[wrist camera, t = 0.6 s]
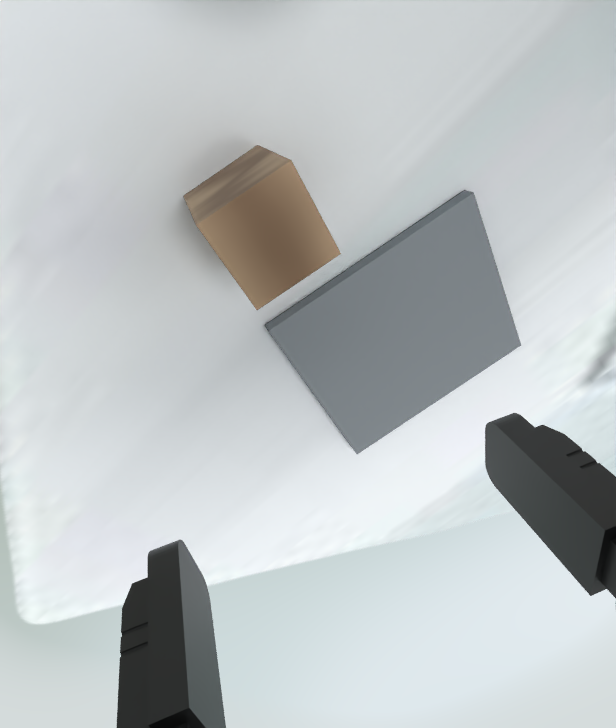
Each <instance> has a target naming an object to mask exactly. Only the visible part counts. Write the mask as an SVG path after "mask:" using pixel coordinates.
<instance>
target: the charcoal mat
mask: <svg viewBox="0 0 616 728" xmlns="http://www.w3.org/2000/svg"><path fill="white" fill-rule="evenodd" d="M265 326H266V328H267V330H268V331H269V333H270V334H271V336H272V337H273V338H274V340H275V341H276V343H277V344H278V345H279V347H280V348H281V350H282V351H283V352H284V354H285V355H286V356H287V358H288V359H289V361H290V362H291V363H292V365H293V366H294V368H295V369H296V370H297V372H298V373H299V375H300V376H301V377H302V379H303V380H304V381H305V383H306V384H307V386H308V387H309V388H310V390H311V391H312V393H313V394H314V395H315V397H316V398H317V400H318V401H319V402H320V404H321V405H322V406H323V408H324V409H325V411H326V412H327V413H328V415H329V416H330V418H331V419H332V420H333V422H334V423H335V425H336V426H337V427H338V429H339V430H340V431H341V433H342V434H343V436H344V437H345V438H346V440H347V441H348V443H349V444H350V445H351V447H352V448H353V450H354V451H355V452H356V454H358V453H360V452H361V451H363V450H364V449H366V448H367V447H369V446H370V445H372V444H373V443H375V442H376V441H378V440H379V439H381V438H382V437H384V436H385V435H387V434H388V433H390V432H391V431H393V430H394V429H396V428H397V427H399V426H400V425H402V424H403V423H405V422H406V421H408V420H409V419H411V418H412V417H414V416H415V415H417V414H418V413H420V412H421V411H423V410H424V409H426V408H427V407H429V406H430V405H432V404H433V403H435V402H436V401H438V400H439V399H441V398H442V397H444V396H445V395H447V394H448V393H450V392H452V391H453V390H455V389H456V388H458V387H459V386H461V385H462V384H464V383H465V382H467V381H468V380H470V379H471V378H473V377H474V376H476V375H477V374H479V373H480V372H482V371H483V370H485V369H486V368H488V367H489V366H491V365H492V364H494V363H495V362H497V361H498V360H500V359H501V358H503V357H504V356H506V355H507V354H509V353H510V352H512V351H513V350H515V349H516V348H518V347H519V346H521V343H520V340H519V337H518V334H517V330H516V327H515V324H514V321H513V318H512V314H511V311H510V308H509V305H508V302H507V298H506V295H505V292H504V289H503V285H502V282H501V279H500V276H499V273H498V269H497V266H496V263H495V260H494V256H493V253H492V250H491V247H490V244H489V240H488V237H487V234H486V231H485V228H484V224H483V221H482V218H481V215H480V211H479V208H478V205H477V202H476V199H475V195H474V193H473V192H469V191H466V190H464V191H463V192H461V193H460V194H458V195H457V196H455V197H454V198H452V199H451V200H449V201H448V202H446V203H445V204H444V205H442V206H441V207H439V208H438V209H436V210H435V211H433V212H432V213H430V214H429V215H427V216H426V217H424V218H423V219H421V220H420V221H418V222H417V223H415V224H414V225H412V226H411V227H409V228H408V229H406V230H405V231H404V232H402V233H401V234H399V235H398V236H396V237H395V238H393V239H392V240H390V241H389V242H387V243H386V244H384V245H383V246H381V247H380V248H378V249H377V250H375V251H374V252H372V253H371V254H369V255H368V256H366V257H365V258H364V259H362V260H361V261H359V262H358V263H356V264H355V265H353V266H352V267H350V268H349V269H347V270H346V271H344V272H343V273H341V274H340V275H338V276H337V277H335V278H334V279H332V280H331V281H329V282H328V283H326V284H325V285H324V286H322V287H321V288H319V289H318V290H316V291H315V292H313V293H312V294H310V295H309V296H307V297H306V298H304V299H303V300H301V301H300V302H298V303H297V304H295V305H294V306H292V307H291V308H289V309H288V310H286V311H285V312H284V313H282V314H281V315H279V316H278V317H276V318H275V319H273V320H272V321H270V322H269V323H267V324H266V325H265Z"/></svg>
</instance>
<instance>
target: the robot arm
mask: <svg viewBox="0 0 616 728" xmlns="http://www.w3.org/2000/svg"><path fill="white" fill-rule="evenodd" d="M485 463H486V469H487V472H488V475H489V477H490V479H491V481H492V483H493V484H494V486H495V487H496V488H497V489H498V490H499V492H500V493H501V494H502V495H503V496H504V497H505V498H506V500H507V501H508V502H509V503H510V504H511V505H512V506H513V508H514V509H515V510H516V511H517V512H518V513H519V514H520V515H521V517H522V518H523V519H524V520H525V521H526V522H527V524H528V525H529V526H530V527H531V528H532V529H533V530H534V532H535V533H536V534H537V535H538V536H539V537H540V538H541V540H542V541H543V542H544V543H545V544H546V545H547V547H548V548H549V549H550V550H551V551H552V552H553V553H554V555H555V556H556V557H557V558H558V559H559V560H560V561H561V562H562V564H563V565H564V566H565V567H566V568H567V569H568V571H569V572H570V573H571V574H572V575H573V576H574V577H575V579H576V580H577V581H578V582H579V583H580V584H581V585H582V587H583V588H584V589H585V590H586V591H587V592H588V593H589V595H590V596H592V595H594V594H596V593H598V592H601V591H603V590H605V589H608V590H609V592H610V593H611V594H612V595H613V596H614V597H615V598H616V477H615V476H614V475H613V474H612V473H611V472H609V471H608V470H607V469H606V468H605V467H603V466H602V465H601V464H600V463H597V462H596V460H595V459H594V458H593V457H591V456H590V455H589V454H588V453H587V452H583V451H582V448H580V447H579V446H578V445H577V444H576V443H574V442H573V441H572V440H571V439H570V438H568V437H567V436H566V435H565V434H563V433H560V432H558V431H556V430H554V429H551V428H549V427H547V426H544V425H541V426H538V427H536V428H535V427H534V426H532V425H531V424H530V423H529V422H528V421H527V420H526V419H524V418H523V417H522V416H521V415H519V414H517V413H513V414H510V415H507V416H505V417H502V418H499V419H497V420H494V421H492V422H489V423H487V425H486V428H485ZM615 604H616V603H615ZM121 633H122V637H121V647H120V648H121V650H120V653H121V657H120V669H119V690H118V712H117V728H226V725H225V717H224V709H223V702H222V693H221V685H220V677H219V669H218V661H217V652H216V645H215V637H214V628H213V620H212V612H211V604H210V598H209V593H208V589H207V585H206V582H205V580H204V577H203V575H202V573H201V572H200V570H199V568H198V566H197V565H196V563H195V561H194V559H193V558H192V556H191V554H190V552H189V551H188V549H187V547H186V545H185V544H184V542H183V541H182V540H178V541H175V542H173V543H170V544H167V545H165V546H162V547H160V548H157V549H154V550H152V551H150V552H149V554H148V578H145V579H143V580H140V581H138V582H135V583H132V586H131V588H130V591H129V593H128V595H127V598H126V600H125V603H124V605H123V608H122V626H121Z"/></svg>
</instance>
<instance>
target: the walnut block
mask: <svg viewBox="0 0 616 728" xmlns="http://www.w3.org/2000/svg"><path fill="white" fill-rule="evenodd" d="M184 199H185V201H186V203H187V205H188V208H189V210H190V212H191V215H192V217H193V219H194V221H195V224H196V226H197V227H198V228H199V230H200V231H201V233H202V234H203V235H204V237H205V238H206V240H207V241H208V242H209V244H210V245H211V247H212V248H213V249H214V251H215V252H216V254H217V255H218V256H219V258H220V259H221V261H222V262H223V263H224V265H225V266H226V268H227V269H228V270H229V272H230V273H231V275H232V276H233V277H234V279H235V280H236V282H237V283H238V284H239V286H240V287H241V289H242V290H243V291H244V293H245V294H246V296H247V297H248V298H249V300H250V301H251V303H252V304H253V305H254V307H255V308H256V310H258V309H260V308H261V307H263V306H264V305H266V304H267V303H269V302H270V301H272V300H273V299H275V298H276V297H278V296H279V295H281V294H282V293H283V292H285V291H286V290H288V289H289V288H291V287H292V286H294V285H295V284H297V283H298V282H300V281H301V280H303V279H304V278H306V277H307V276H309V275H310V274H312V273H313V272H315V271H316V270H318V269H319V268H320V267H322V266H323V265H325V264H326V263H328V262H329V261H331V260H332V259H334V258H335V257H337V256H338V255H340V254H341V253H340V251H339V249H338V247H337V245H336V243H335V242H334V240H333V238H332V236H331V234H330V232H329V230H328V228H327V227H326V225H325V223H324V221H323V219H322V217H321V215H320V213H319V212H318V210H317V208H316V206H315V204H314V202H313V200H312V198H311V197H310V195H309V193H308V191H307V189H306V187H305V185H304V183H303V181H302V180H301V178H300V176H299V174H298V172H297V170H296V168H295V166H294V165H293V163H292V161H291V160H290V159H287V158H285V157H283V156H281V155H278V154H276V153H274V152H272V151H269V150H267V149H265V148H263V147H261V146H258V145H257V146H255V147H254V148H253V149H251V150H250V151H248V152H247V153H245V154H244V155H242V156H241V157H239V158H238V159H237V160H235V161H234V162H232V163H231V164H229V165H228V166H226V167H225V168H223V169H222V170H220V171H219V172H218V173H216V174H215V175H213V176H212V177H210V178H209V179H207V180H206V181H204V182H203V183H201V184H200V185H199V186H197V187H196V188H194V189H193V190H191V191H190V192H188V193H187V194H185V195H184Z"/></svg>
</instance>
